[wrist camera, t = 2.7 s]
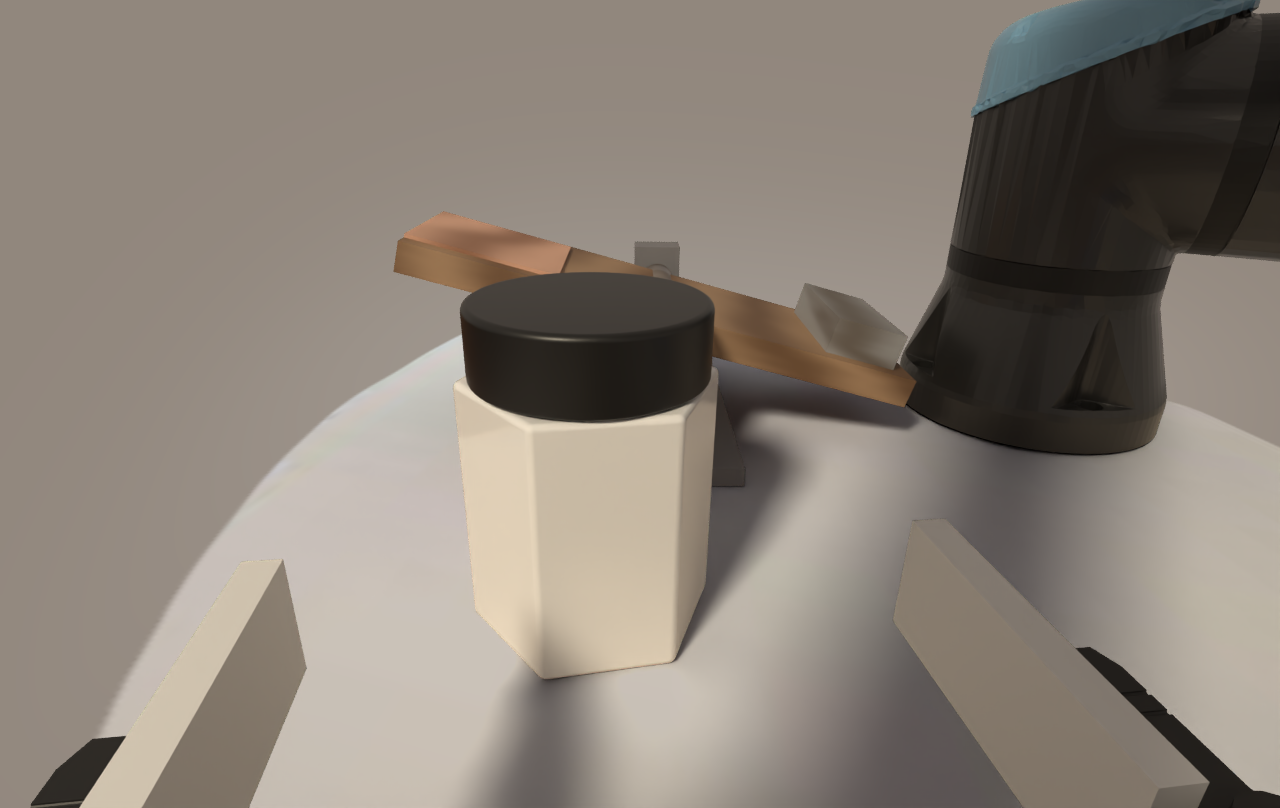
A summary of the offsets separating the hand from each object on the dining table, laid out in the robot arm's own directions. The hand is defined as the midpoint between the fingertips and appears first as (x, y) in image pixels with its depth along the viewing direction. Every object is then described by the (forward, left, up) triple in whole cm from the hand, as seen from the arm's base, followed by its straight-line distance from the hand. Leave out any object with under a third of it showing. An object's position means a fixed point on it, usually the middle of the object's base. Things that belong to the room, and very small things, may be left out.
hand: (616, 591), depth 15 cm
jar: (+8, -6, -8) cm, 13 cm away
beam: (+18, -21, -1) cm, 28 cm away
